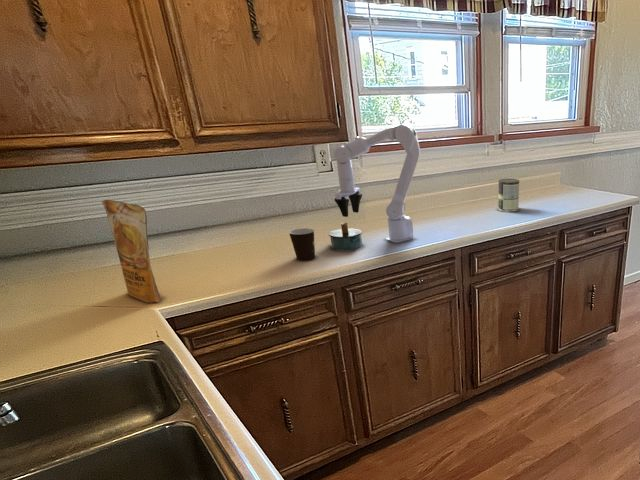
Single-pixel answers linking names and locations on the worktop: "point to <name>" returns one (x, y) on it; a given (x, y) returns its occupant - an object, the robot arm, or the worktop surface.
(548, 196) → the worktop surface
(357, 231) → the lid
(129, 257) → the pancake mix bag
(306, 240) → the coffee mug
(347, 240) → the pot
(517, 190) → the coffee can
